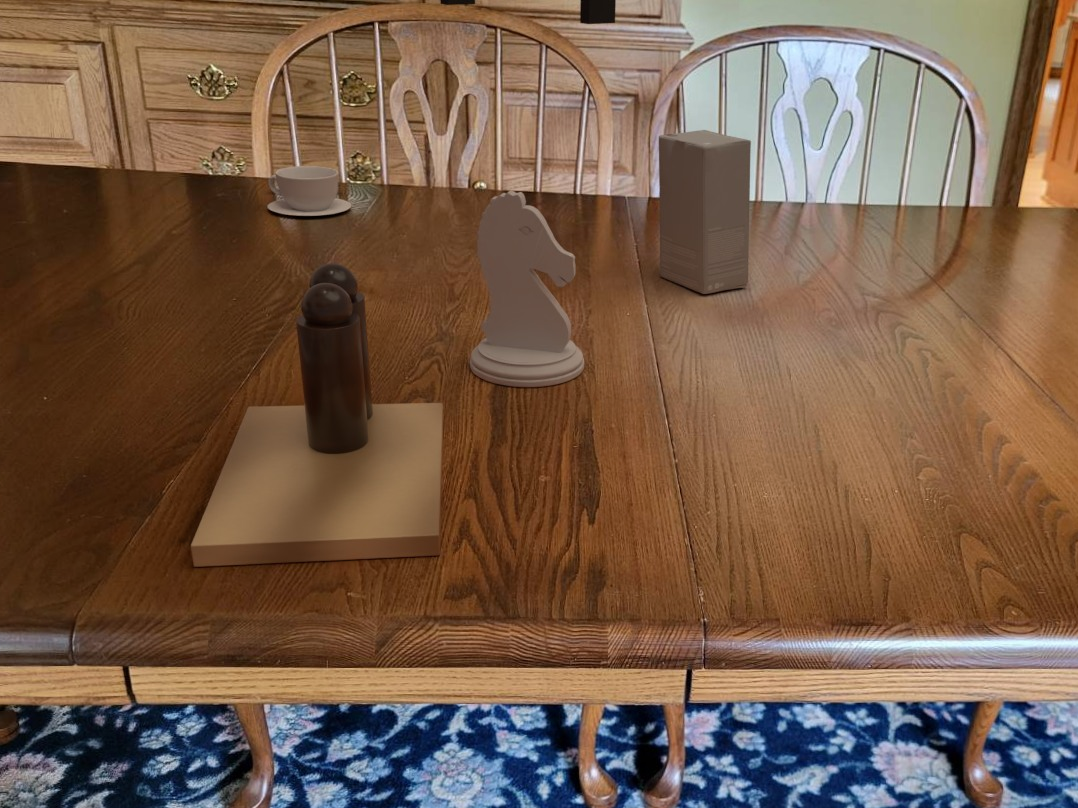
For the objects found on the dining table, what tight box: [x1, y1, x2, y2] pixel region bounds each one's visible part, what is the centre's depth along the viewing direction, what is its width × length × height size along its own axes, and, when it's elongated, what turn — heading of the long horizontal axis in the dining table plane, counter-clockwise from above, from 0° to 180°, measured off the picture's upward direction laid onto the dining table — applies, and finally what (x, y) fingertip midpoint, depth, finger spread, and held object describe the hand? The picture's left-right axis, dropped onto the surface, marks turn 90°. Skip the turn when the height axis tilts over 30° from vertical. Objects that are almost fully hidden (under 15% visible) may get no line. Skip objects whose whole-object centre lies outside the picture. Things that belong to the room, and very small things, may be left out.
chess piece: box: [469, 189, 585, 388], centre depth 92 cm, size 10×10×15 cm
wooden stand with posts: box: [190, 262, 444, 568], centre depth 71 cm, size 14×20×13 cm
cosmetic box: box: [658, 129, 752, 295], centre depth 117 cm, size 8×7×16 cm
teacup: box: [267, 165, 352, 217], centre depth 137 cm, size 10×10×5 cm
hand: (524, 13), depth 78 cm, fingers open, 13 cm apart
